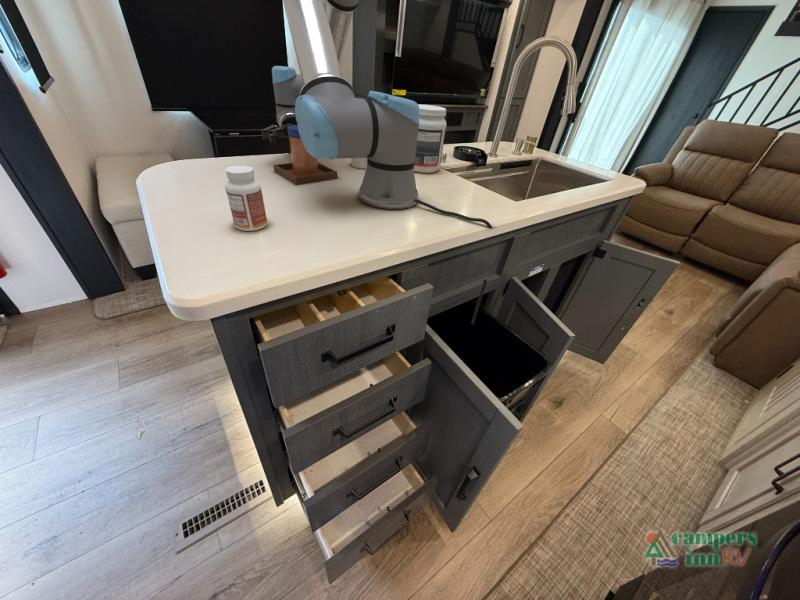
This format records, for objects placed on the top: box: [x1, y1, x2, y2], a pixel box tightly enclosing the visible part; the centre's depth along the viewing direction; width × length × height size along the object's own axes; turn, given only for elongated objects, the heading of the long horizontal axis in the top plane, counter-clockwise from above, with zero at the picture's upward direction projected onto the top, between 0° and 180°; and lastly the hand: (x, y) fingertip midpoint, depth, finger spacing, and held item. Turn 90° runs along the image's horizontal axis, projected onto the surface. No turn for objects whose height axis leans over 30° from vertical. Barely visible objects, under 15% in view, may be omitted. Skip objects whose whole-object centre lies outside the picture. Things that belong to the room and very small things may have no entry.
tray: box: [273, 161, 339, 186], centre depth 94 cm, size 13×13×2 cm
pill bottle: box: [224, 165, 268, 232], centre depth 62 cm, size 6×6×11 cm
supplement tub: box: [414, 103, 447, 174], centre depth 105 cm, size 13×13×18 cm
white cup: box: [350, 158, 367, 170], centre depth 104 cm, size 8×8×10 cm
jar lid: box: [287, 125, 301, 138], centre depth 87 cm, size 8×8×2 cm
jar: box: [288, 136, 319, 176], centre depth 91 cm, size 7×7×12 cm
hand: (302, 141), depth 91 cm, fingers open, 13 cm apart
